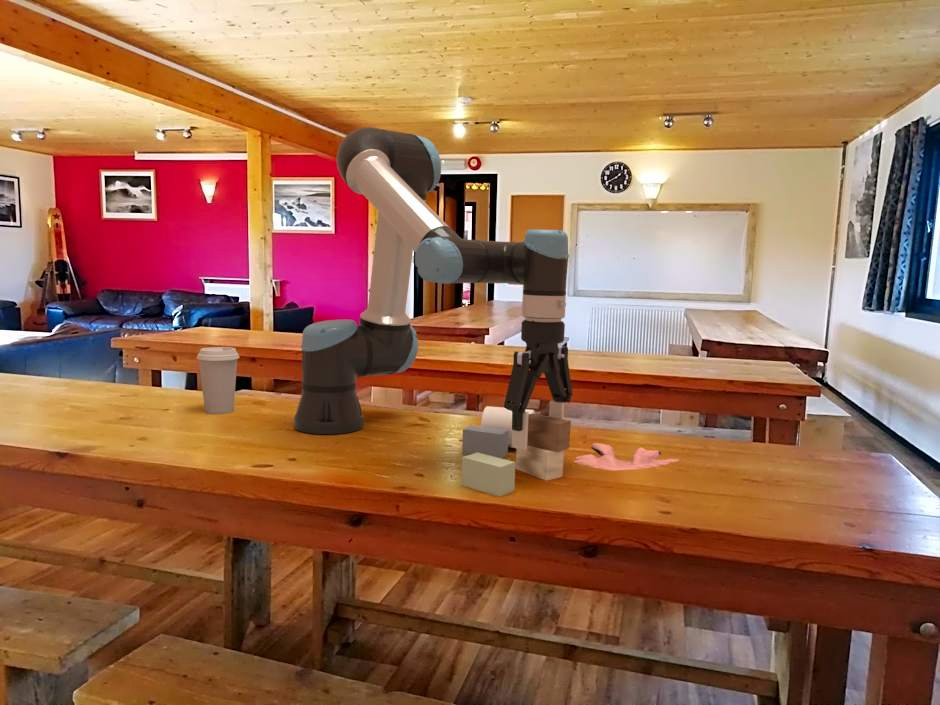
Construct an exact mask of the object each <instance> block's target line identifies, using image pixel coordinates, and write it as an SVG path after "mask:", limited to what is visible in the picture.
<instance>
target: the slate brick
mask: <svg viewBox="0 0 940 705" xmlns="http://www.w3.org/2000/svg"><path fill="white" fill-rule="evenodd" d="M508 433H509V430H505V429H497V428H490V427H482V426H481V425H474V424H470V425H468V426H466V427H465V428H463V429H462V443H461V444H462V445H461V447H462V448H461V449H462V450H461V453H462V455H467V456H468V455H471V454H474V453H481V454H485V455H489V456H493V457H497V458H501V459H504V458H505V457H506V456H507V455H508V454H509V447H508Z"/></svg>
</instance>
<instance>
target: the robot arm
mask: <svg viewBox="0 0 940 705" xmlns="http://www.w3.org/2000/svg"><path fill="white" fill-rule="evenodd" d="M336 166H337V168H336V169H337V170H338V173H339V175H340V176H341V179H342V180H343V181H344V183H345V184H346V185H347V186H348V187H349V188H350V189H351V190H352V191H353V192H354V193H356V194H358V195H363V196H364V197H365V199H367V201H368V202H369V203H370V204H371V205H372V207H374V208H375V210H377V211H378V212H377V218H376V220H377V221H376V227H375V228H376V230H375V236H374V237H375V240H374V248H373V258H372V268H371V276H370V283H369V284H370V285H369V294H368V303H367V304H368V305H367V308H366V309H365V310H364V311H363V312H361V313H360V316H359V324H357V322H356V321H355V320H353V319H330V320H329V319H328V320H322V321H317V322H314V323H313V322H312V324H309V325H307V326H305V328H304V329H303V331H302V337H301V339H302V340H301V344H300V348H301V370H302V371H301V374H302V375H301V376H302V379H301V380H302V383H301V384H302V385H301V386H302V391H301V396H300V399H299V402H298V406H297V410H296V412H295V415H294V418H293V419H294V420H293V425H294V426H293V427H294V429H295V430H296V431H299V432H302V433H306V434H314V435H315V434H316V435H338V434H339V435H340V434H348V433H352V432H356V431H359V430H361V429H362V428H364V425H365V424H364V423H365V422H364V420H365V418H364V413H363V412H362V411H363V410H362V407H361V403H360V401H359V398H358V394H357V378H360V377H363V378H364V377H371V376H383V375H386V376H388V375H390V376H391V375H394V374H396V373H397V374H398V373H403V372H405V371H406V370H407V369H409V368H410V367H412V365H413V363H414V362H415V360H416V357H417V355H418V350H419V338H417V336H418V334H417V332H416V329H415V328H414V326H412V325H411V322H412V320H411V318H410V317H409V315H407V313H406V309H407V308H406V307H407V302H408V293H409V284H410V276H411V269H412V268H411V267H412V260H413V252H415V254H414V262H415V267H417V273H418V275H419V277H420V278H421V279H423V280H424V281H425V282H429V283H438V284H442V285H443V284H445V285H446V284H447V285H449V284H470V283H471V284H512V285H513V284H514V285H515V284H518V285H522V299H521V300H522V304H521V316H522V318H524V319H523V320H522V321H521V329H520V330H521V334H520V335H521V336H520V338H521V341H522V342H525V345H526V346H525V350H524V351H516V350H515V351H514V353H513V365H512V369H511V370H512V371H511V373H510V376H509V377H510V378H509V383H508V387H507V390H506V394H505V399H504V403H503V408H506V409H507V410H511V411H512V447H513V448H512V449H516V450H517V449H521V450H527V439H528V414H529V412H525V410H526V409H527V408H528V404H529V402H530V399H531V397H532V394H533V391H534V390H535V386H536V385H537V380H538V379H540V378H541V377H542V375H543V374H544V378H545V380H546V383H547V386H548V389H549V391H550V394H551V397H552V400H550V401H549V414H548V417H554V418H559V419H564V420H565V403H570V402H571V399H572V398H571V397H572V396H573V388H572V382H571V373H570V367H569V360H568V359H569V348H568V346H560V345H558V344H561V343H563V342H564V341H565V330H566V329H565V327H566V323H564V321H563V319H565V318H566V306H567V302H566V300H567V299H566V298H567V297H566V296H567V281H568V280H567V278H568V276H567V275H568V267H569V266H568V265H569V258H570V254H569V236H568V234H567V233H566V232H565V231H563V230H560V229H559V230H558V229H528V230H527V231H525V233H524V234H525V236H524V240H523V241H498V240H497V241H495V240H479V239H478V240H477V239H465V238H462V237H460V236H459V235H458V233H457V232H455V231H454V230H453V229H452V228H451V227H450V226H449V225H448V224H447V223H446V222H445V221H444V220H443V219H442V217H440V216H439V215H438V214H437V212H435V210H433V209H432V207H430V206H429V204H427V203H426V202H427V195H428V193H429V192H431V191H433V190H434V189H435V188H436V187H437V184H439V182H440V179H441V175H442V174H441V173H442V162H441V156H440V153H439V150H437V147H436V146H435V144H434V143H433V141H431V140H429V139H428V138H426V137H423V136H420V135H417V134H414V133H406V132H399V131H394V130H389V129H388V130H387V129H381V128H378V127H372V126H367V127H366V126H365V127H359V128H356V129H354V130H352V131H351V132H350V133H348V134H347V135H346V136H345V137H344V138H343V139H342V140H341V142H340V143H339V146H338V147H337V152H336Z"/></svg>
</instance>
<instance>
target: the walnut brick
mask: <svg viewBox="0 0 940 705" xmlns="http://www.w3.org/2000/svg"><path fill="white" fill-rule="evenodd" d="M571 426H572V421H571V420H569V419H565V418H564V419H559V418H554V417H549V415H543V414H542V415H541V414H536V413H535V414H533V413H532V414H528V439H527V446H531V447H536V448H540V449H545V450H549V451H554V452H561V451H563V450H564V451H565V450H569V449H570V440H571V428H572V427H571Z"/></svg>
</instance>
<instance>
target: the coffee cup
mask: <svg viewBox="0 0 940 705" xmlns="http://www.w3.org/2000/svg"><path fill="white" fill-rule="evenodd" d="M238 359H240V354H239V353H238V352H237V348H235V347H229V346H228V347H227V346H214V347H213V346H212V347H211V346H210V347H202V348H200V349H199V352H198V354H197V355H196V360H198V363H199V371H200V382H201V390H202V400H203V408H204V412H205V413H206V414H209V415H210V414H211V415H223V414H224V413H225V414H230V413H233V412H234V411H235V410H234V409H235V398H236V396H235V394H236V385H237V384H236V383H237V382H236V380H237V369H238V368H237V367H238Z"/></svg>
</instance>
